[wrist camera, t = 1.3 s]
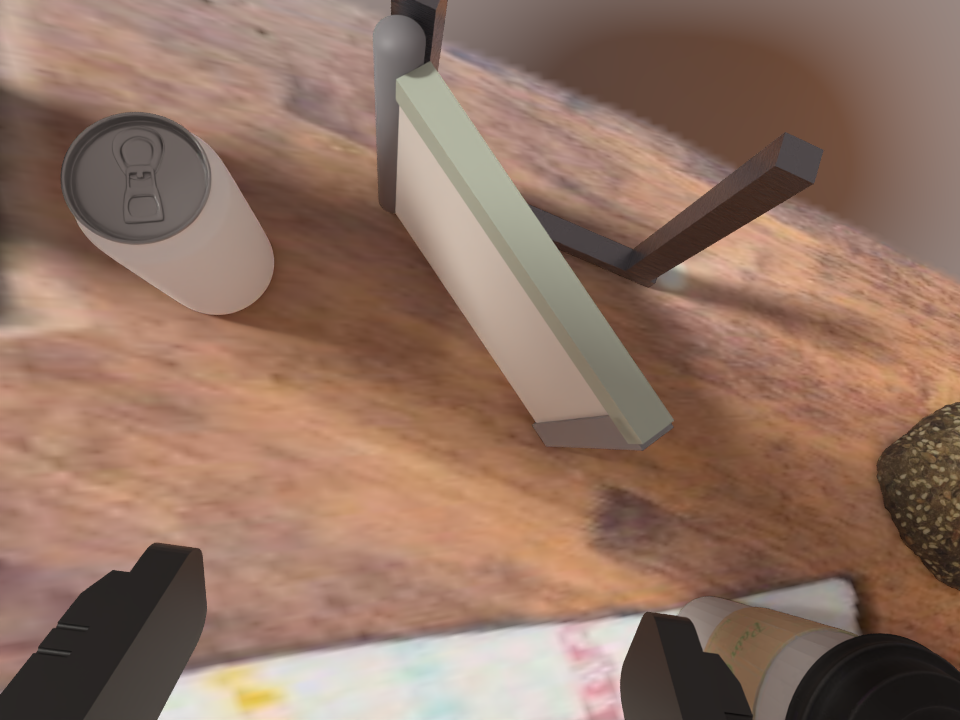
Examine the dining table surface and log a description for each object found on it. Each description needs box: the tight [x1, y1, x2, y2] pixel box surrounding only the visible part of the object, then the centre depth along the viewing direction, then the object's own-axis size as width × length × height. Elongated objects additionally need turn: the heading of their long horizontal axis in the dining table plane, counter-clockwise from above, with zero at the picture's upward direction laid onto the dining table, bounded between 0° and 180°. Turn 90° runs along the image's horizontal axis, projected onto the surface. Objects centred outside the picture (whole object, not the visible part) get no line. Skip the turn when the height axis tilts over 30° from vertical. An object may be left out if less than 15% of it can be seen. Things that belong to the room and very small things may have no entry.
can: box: [61, 112, 274, 315], centre depth 29 cm, size 6×6×12 cm
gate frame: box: [391, 0, 823, 287], centre depth 31 cm, size 19×2×16 cm, turn 69°
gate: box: [373, 15, 674, 451], centre depth 29 cm, size 19×2×15 cm, turn 34°
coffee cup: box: [677, 596, 960, 720], centre depth 29 cm, size 9×9×15 cm
